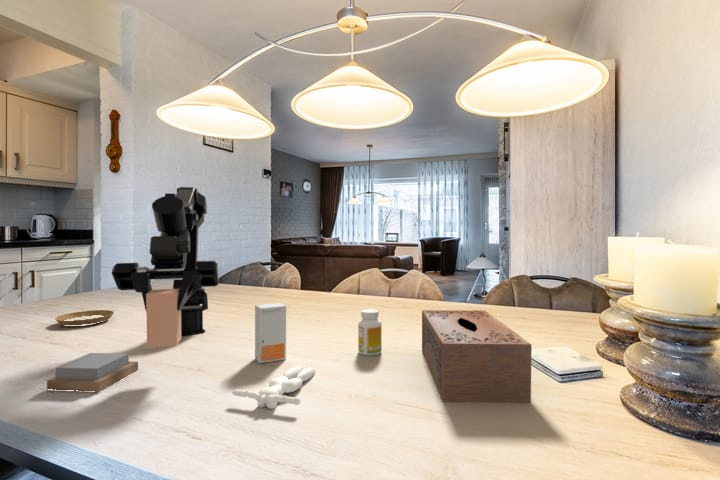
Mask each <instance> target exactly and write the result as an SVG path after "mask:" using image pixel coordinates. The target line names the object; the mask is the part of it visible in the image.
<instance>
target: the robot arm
mask: <svg viewBox="0 0 720 480" xmlns="http://www.w3.org/2000/svg"><path fill="white" fill-rule="evenodd" d="M151 208H152V212H153V217H154V220H155V225H156V229H157V231H158V232H159V233H160V235H158V236H156V235H155V236H154V235H153V236H151V237H150V243H149V252H148V253H149V254H150V255H151V258H150V263H151V266H153V268H148V267H147V266H139V262H118V263H115V264H114V265H113V267H112V269H111V275H112V278H113V280H114V283H115V285H116V286H117V289H118V290H119V291H135V292H136V293H141V296H142V300H143V305H144V309H145V311H146V294H147V293H148V292H150V291H152V290H153V287H152V284H151V282H152V280H154V281H173V282H172V284H173V285H172V289H180V293H179V297H178V303H177V310H181V337H184V336H189V335H190V336H191V335H196V334H200V333H205V332H206V329H204V328H203V326H204V324H203V323H204V322H203V319H204V317H203V315H204V314H203V312H204V311H206V310H208V309H209V303H208V301H209V300H208V293H207V292H206V290H205V288H207V287H210V288H211V287H217V286H218V285H219V267H218V263H217V262H216V261H215V260H198V257H199V256H198V252H199V251H198V250H199V248H198V246H199V228H200V227H201V226H202V225H203V223H204V222H205V215H206V214H207V213H208V205H207V200H206V197H205V195H203V194H201V193H200V192H199V191H198V188H196V187H193V186H192V187H190V186H180V187H177V188H176V193H171V192H170V193H167V192H166V193H164V196H160V197H159V198H157V199H156V200H154V201H153V202H152V204H151ZM204 287H205V288H204Z"/></svg>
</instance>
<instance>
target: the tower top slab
mask: <svg viewBox="0 0 720 480" xmlns="http://www.w3.org/2000/svg"><path fill="white" fill-rule="evenodd" d="M129 358H130V355H129V353H118V352H116V353H115V352H113V353H107V352H105V353H104V352H90V353H87V354H85V355H82V356H80V357H77V358H75V359H72V360H70V361H68V362H66V363H63V364H61V365H58V366H56V367H54V368H55V371H54V372H55V375H54V376H56V379H89V380H98V379H100V378H102V377H104V376H106V375H108V374H110V373H112V372H114V371H115V370H117V369H119V368H121V367H123V366H125V365H127V364H129V361H130V359H129Z"/></svg>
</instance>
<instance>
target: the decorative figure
mask: <svg viewBox="0 0 720 480" xmlns="http://www.w3.org/2000/svg"><path fill="white" fill-rule="evenodd" d="M315 373H316V368H314V367H312V366H309V367H306V368H303V366H301V365H296V366H292V367H290V368H289V369H287V370H286V371H285V372H284V373H283V375H280V376H278V377H275V378H274V377H273V378H272V379H270V381H269V383H268V386H267V387H263V388H261V389H259V390H258V392H255V391H250V390H244V389H243V390H241V389H233V391H232V395H233V396H236V397H241V398H245V397H247V398H249V399H255V401H257V403H256V404H257V407H258V408H265V407H267V408H268V409H269V410H273V409H275V408H276V407H277V405H278V403H285V404H291V405H296V406H298V405H300V403H301V399H300V397H298V396H297V397H295V396H293V397H292V396H287V395H284V393H287V394H289V393H292V392H295V391H297V390H298V389H300V387H302V385H303V382H305V381H308V380H309V379H311V378H312V377H313V376H314V374H315Z"/></svg>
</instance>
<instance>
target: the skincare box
mask: <svg viewBox="0 0 720 480" xmlns="http://www.w3.org/2000/svg"><path fill="white" fill-rule="evenodd" d="M254 310H255V311H254V358H255V360H256V361H257V363H258V364H266V363H270V362H278V361H279V362H280V361H286V359H287V356H286V355H287V352H286V351H287V347H286V346H287V306H286V305H285V304H283V303H282V302H277V303H266V304H257V305H256V304H255V306H254Z"/></svg>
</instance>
